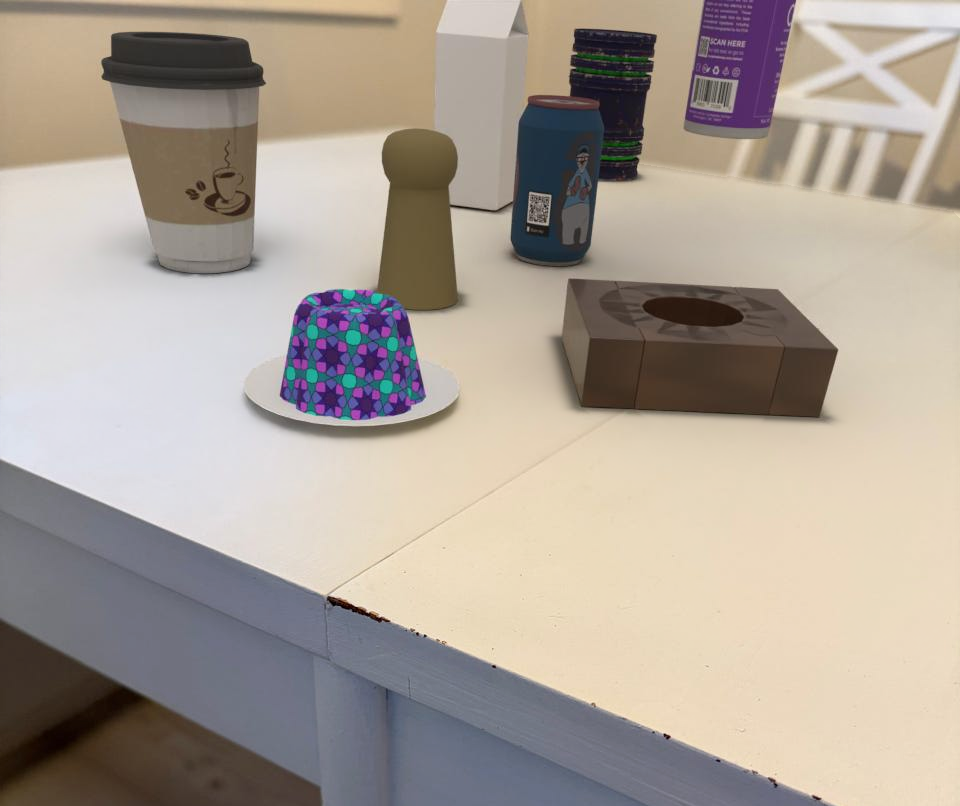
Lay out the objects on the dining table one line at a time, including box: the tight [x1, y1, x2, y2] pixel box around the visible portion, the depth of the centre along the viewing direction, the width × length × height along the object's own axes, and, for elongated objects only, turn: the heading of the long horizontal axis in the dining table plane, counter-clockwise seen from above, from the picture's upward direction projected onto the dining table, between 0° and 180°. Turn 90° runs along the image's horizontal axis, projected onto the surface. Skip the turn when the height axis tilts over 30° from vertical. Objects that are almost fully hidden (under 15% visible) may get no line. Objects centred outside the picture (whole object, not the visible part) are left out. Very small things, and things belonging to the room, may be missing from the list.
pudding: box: [243, 288, 461, 427], centre depth 52 cm, size 12×12×5 cm
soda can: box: [509, 94, 604, 267], centre depth 78 cm, size 7×7×12 cm
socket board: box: [561, 278, 839, 418], centre depth 58 cm, size 14×12×4 cm
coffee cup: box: [100, 31, 267, 274], centre depth 70 cm, size 11×11×15 cm
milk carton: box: [433, 0, 530, 211], centre depth 93 cm, size 7×7×19 cm
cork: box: [376, 127, 459, 311], centre depth 66 cm, size 6×6×11 cm
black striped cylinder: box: [568, 28, 658, 182], centre depth 113 cm, size 10×10×15 cm
